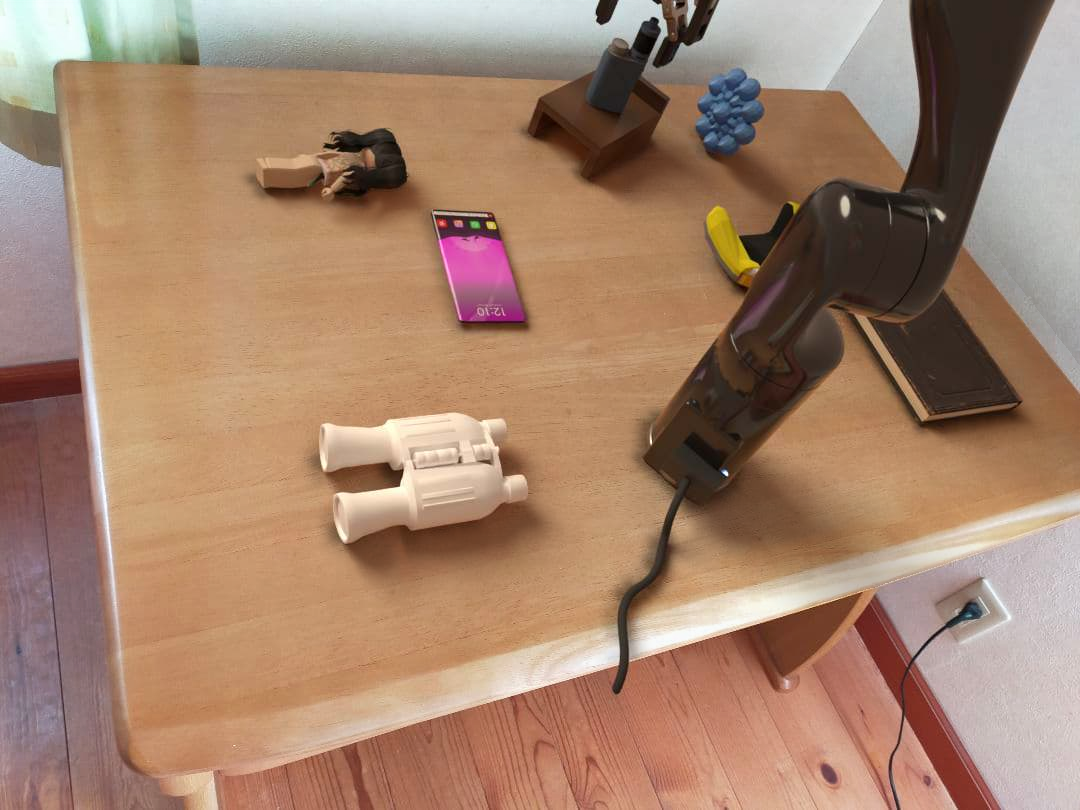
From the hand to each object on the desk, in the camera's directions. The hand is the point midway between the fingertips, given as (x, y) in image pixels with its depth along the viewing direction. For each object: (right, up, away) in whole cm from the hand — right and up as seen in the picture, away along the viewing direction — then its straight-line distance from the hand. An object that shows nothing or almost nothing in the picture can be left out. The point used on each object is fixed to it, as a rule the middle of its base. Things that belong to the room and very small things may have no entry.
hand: (630, 43), depth 101 cm
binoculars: (-21, -48, -26) cm, 59 cm away
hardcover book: (+36, -34, +7) cm, 50 cm away
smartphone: (-17, -27, -9) cm, 34 cm away
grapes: (+13, -7, +18) cm, 23 cm away
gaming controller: (+16, -24, +6) cm, 29 cm away
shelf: (-4, -8, +10) cm, 13 cm away
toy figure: (-32, -19, -9) cm, 38 cm away
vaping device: (-3, -5, +7) cm, 9 cm away
